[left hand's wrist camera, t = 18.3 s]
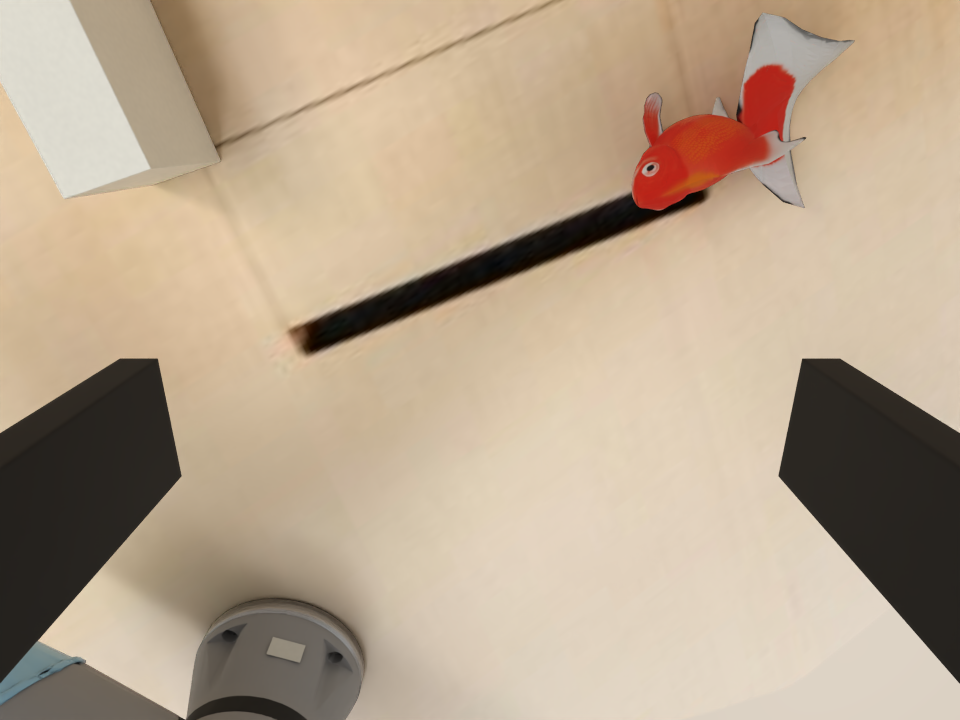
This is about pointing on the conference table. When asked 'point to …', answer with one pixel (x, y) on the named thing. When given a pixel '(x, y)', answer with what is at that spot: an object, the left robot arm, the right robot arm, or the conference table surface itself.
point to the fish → (737, 123)
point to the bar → (100, 94)
